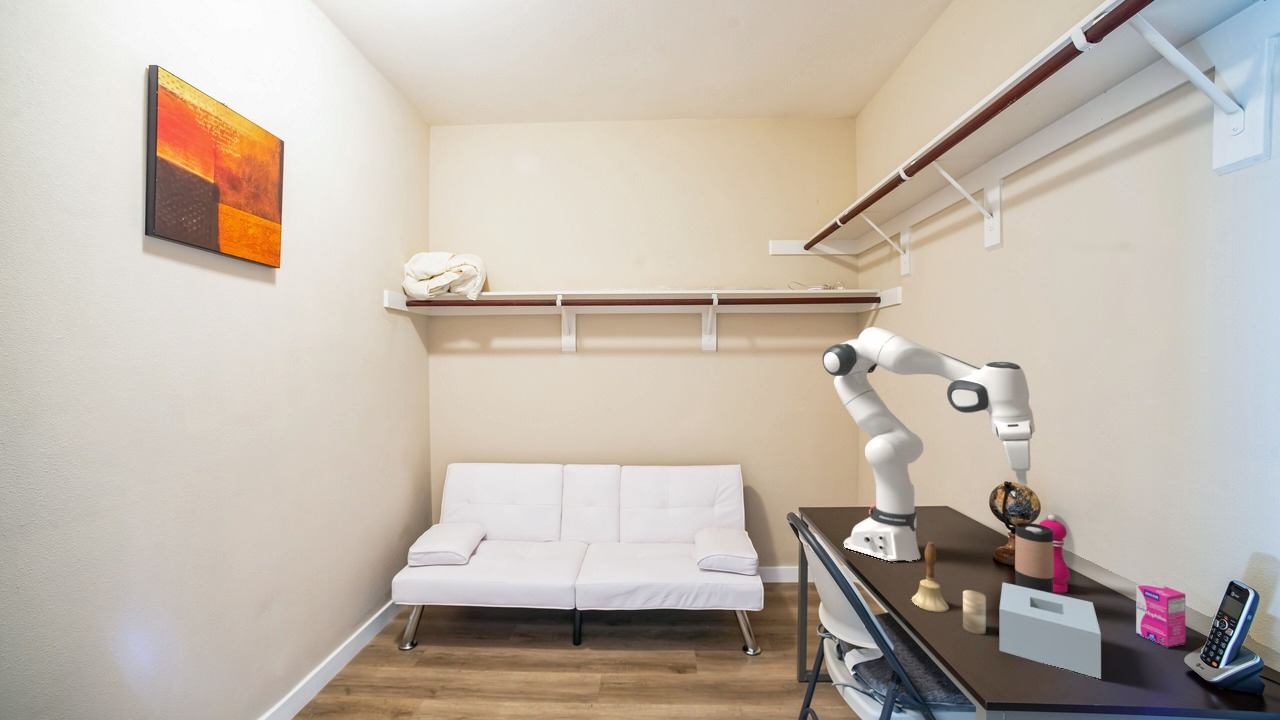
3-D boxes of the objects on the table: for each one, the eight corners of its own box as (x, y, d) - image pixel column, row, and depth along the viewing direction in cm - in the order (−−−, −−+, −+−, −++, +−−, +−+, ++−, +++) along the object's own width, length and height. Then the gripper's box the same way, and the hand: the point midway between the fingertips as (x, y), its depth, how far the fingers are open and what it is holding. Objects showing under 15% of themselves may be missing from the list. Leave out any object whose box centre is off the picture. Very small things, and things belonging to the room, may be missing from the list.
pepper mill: (1076, 595, 131) (1076, 519, 131) (1045, 592, 133) (1045, 518, 133) (1059, 583, 138) (1059, 511, 138) (1029, 580, 140) (1029, 510, 140)
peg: (962, 629, 114) (962, 595, 114) (964, 621, 118) (963, 588, 118) (985, 636, 112) (985, 601, 112) (986, 628, 115) (986, 593, 115)
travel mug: (1027, 596, 130) (1027, 520, 130) (1060, 610, 123) (1060, 530, 123) (1008, 602, 127) (1008, 524, 127) (1041, 616, 120) (1041, 534, 120)
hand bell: (946, 600, 128) (946, 539, 128) (950, 615, 121) (950, 550, 121) (910, 594, 132) (910, 534, 132) (912, 608, 125) (911, 544, 125)
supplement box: (1134, 634, 112) (1134, 584, 112) (1153, 631, 114) (1153, 581, 114) (1167, 649, 107) (1167, 596, 107) (1186, 645, 108) (1187, 593, 108)
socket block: (999, 650, 106) (999, 608, 106) (1002, 619, 119) (1002, 582, 119) (1100, 680, 96) (1100, 634, 96) (1092, 643, 109) (1092, 602, 109)
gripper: (995, 418, 136) (1004, 467, 136) (998, 434, 119) (1008, 491, 119) (1024, 416, 132) (1033, 467, 132) (1031, 433, 115) (1041, 491, 116)
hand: (1021, 478), depth 126 cm, fingers open, 8 cm apart
